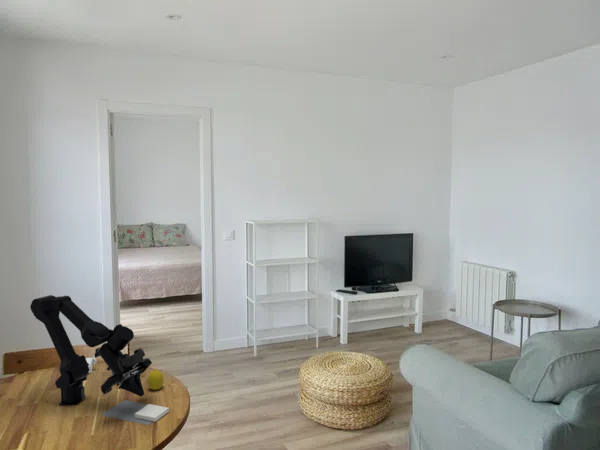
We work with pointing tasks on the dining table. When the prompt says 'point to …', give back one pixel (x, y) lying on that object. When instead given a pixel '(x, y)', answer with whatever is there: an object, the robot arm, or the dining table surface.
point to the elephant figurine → (90, 362)
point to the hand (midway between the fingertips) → (142, 395)
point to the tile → (151, 412)
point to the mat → (127, 412)
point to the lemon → (155, 380)
